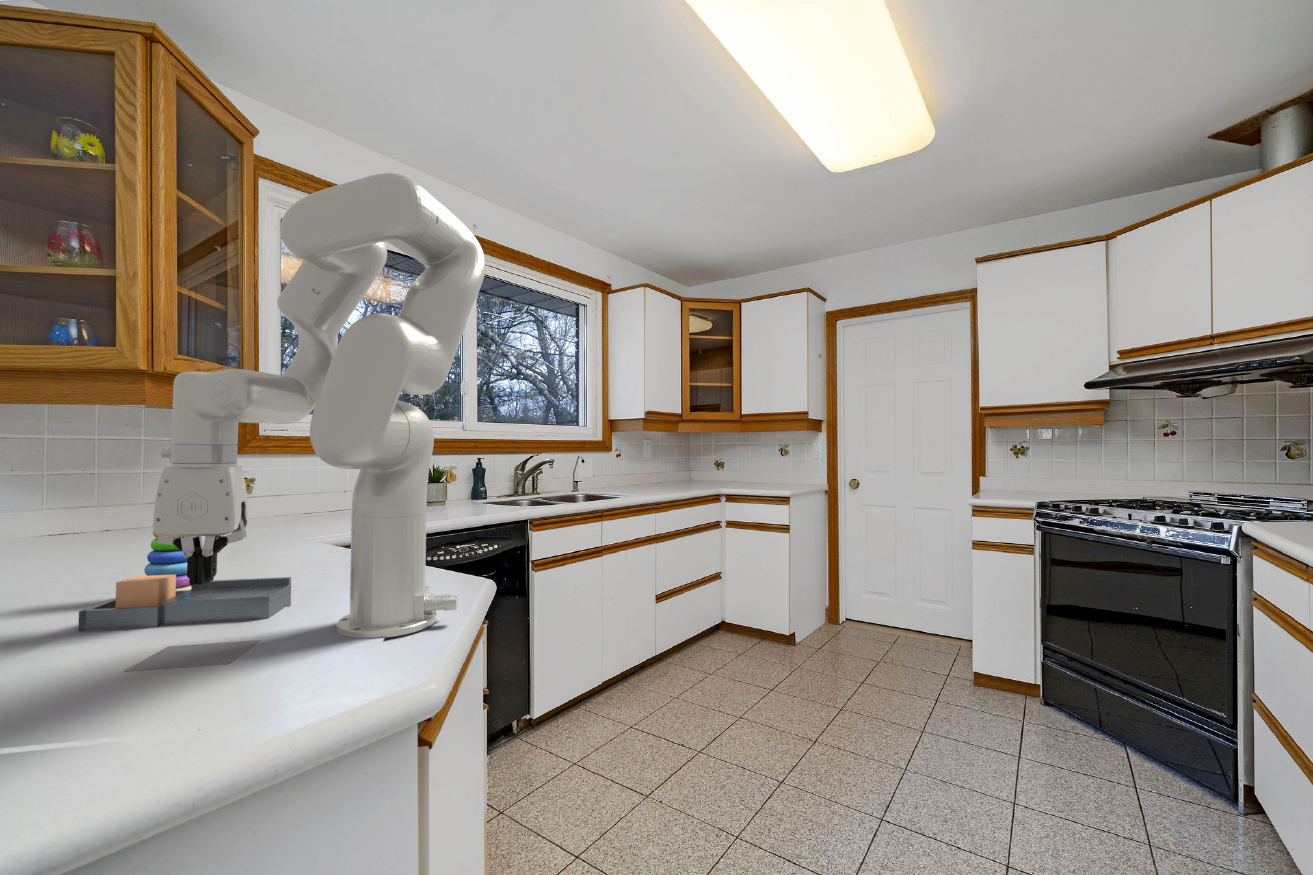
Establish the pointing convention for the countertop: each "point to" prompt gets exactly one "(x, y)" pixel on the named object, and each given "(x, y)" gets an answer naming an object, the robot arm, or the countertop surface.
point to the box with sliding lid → (196, 605)
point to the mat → (194, 655)
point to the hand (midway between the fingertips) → (201, 582)
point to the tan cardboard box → (145, 591)
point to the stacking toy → (168, 563)
